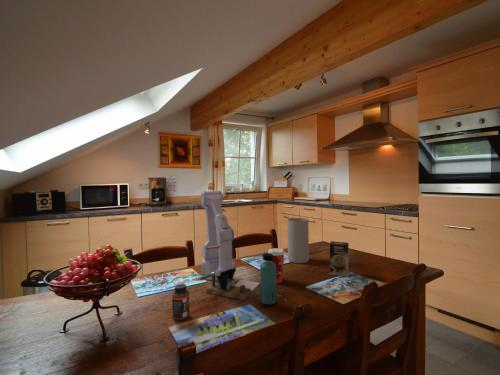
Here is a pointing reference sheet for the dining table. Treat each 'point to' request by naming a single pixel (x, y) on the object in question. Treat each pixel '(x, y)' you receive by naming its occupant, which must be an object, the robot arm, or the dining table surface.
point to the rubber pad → (248, 284)
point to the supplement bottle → (180, 302)
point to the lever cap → (228, 284)
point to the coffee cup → (278, 262)
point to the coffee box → (339, 258)
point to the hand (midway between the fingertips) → (226, 286)
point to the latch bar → (207, 275)
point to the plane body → (234, 293)
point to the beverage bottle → (268, 280)
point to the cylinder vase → (298, 240)
